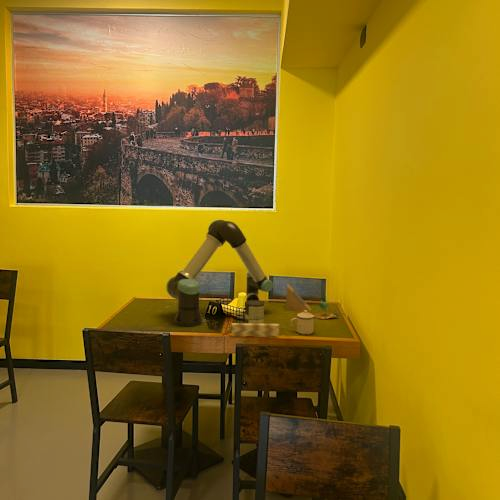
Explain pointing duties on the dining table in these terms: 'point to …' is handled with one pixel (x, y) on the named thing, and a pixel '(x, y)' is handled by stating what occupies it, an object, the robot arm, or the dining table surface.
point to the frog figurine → (325, 315)
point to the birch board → (255, 329)
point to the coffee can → (254, 311)
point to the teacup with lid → (304, 322)
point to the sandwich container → (295, 301)
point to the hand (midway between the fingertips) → (254, 310)
